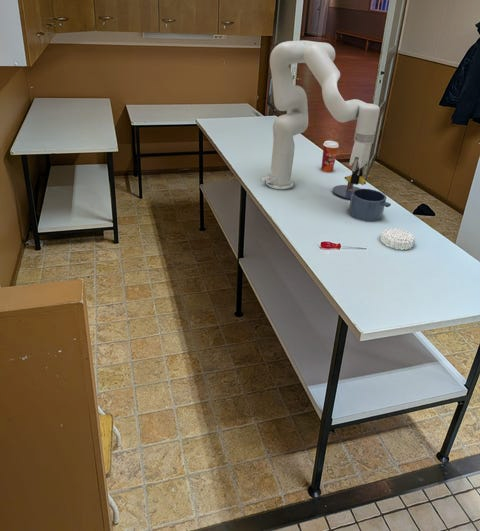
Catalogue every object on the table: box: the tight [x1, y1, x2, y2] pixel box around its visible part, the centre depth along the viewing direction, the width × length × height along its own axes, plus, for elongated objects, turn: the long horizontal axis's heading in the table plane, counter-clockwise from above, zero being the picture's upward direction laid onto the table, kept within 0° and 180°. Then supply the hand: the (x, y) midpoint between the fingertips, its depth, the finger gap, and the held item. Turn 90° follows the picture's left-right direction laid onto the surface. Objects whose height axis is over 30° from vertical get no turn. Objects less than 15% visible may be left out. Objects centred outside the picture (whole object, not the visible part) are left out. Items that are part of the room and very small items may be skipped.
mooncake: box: [379, 227, 416, 251], centre depth 184 cm, size 12×12×4 cm
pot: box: [347, 188, 392, 222], centre depth 203 cm, size 14×19×8 cm
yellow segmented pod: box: [344, 174, 367, 186], centre depth 200 cm, size 9×3×3 cm, turn 60°
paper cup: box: [321, 140, 340, 173], centre depth 245 cm, size 8×8×14 cm
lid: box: [332, 181, 362, 200], centre depth 222 cm, size 15×15×6 cm
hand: (355, 182), depth 200 cm, fingers closed on yellow segmented pod, 3 cm apart
